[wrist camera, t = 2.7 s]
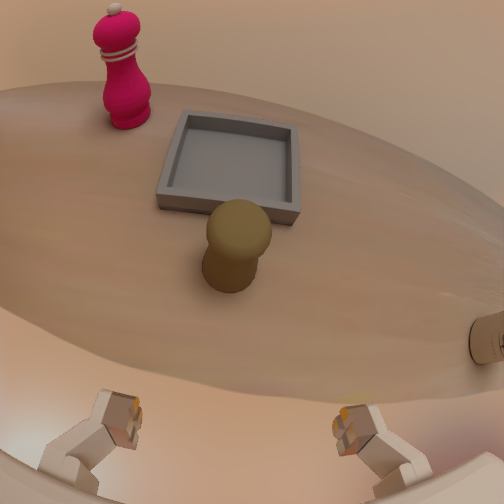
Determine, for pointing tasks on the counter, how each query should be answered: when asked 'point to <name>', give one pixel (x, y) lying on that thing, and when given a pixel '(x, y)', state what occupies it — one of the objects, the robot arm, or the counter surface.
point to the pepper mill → (122, 68)
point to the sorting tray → (232, 165)
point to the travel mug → (488, 339)
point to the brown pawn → (235, 244)
